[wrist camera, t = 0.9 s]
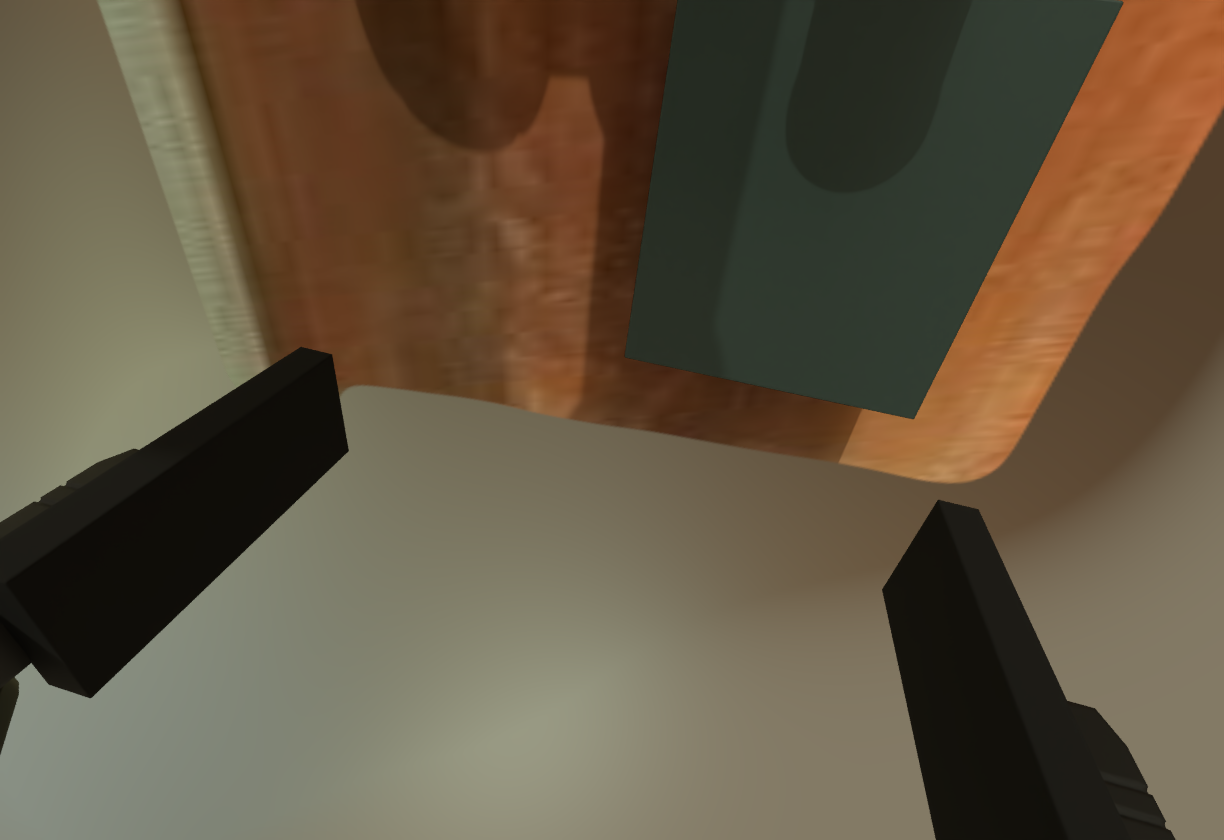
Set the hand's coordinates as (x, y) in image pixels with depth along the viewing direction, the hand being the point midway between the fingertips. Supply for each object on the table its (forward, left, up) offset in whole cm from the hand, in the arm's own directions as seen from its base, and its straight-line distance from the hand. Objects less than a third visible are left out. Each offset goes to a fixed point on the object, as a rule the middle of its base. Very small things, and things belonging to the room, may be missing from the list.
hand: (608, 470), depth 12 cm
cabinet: (-3, +5, -26) cm, 26 cm away
